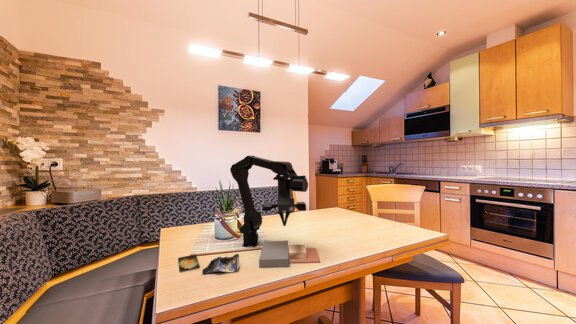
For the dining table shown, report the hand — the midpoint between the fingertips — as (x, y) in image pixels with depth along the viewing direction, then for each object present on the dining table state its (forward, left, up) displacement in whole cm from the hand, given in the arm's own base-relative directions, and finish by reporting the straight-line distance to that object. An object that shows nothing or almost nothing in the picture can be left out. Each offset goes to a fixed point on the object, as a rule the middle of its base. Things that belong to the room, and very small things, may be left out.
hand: (284, 225), depth 104 cm
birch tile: (+5, -6, -11) cm, 13 cm away
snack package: (-24, -16, -12) cm, 31 cm away
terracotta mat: (+8, -6, -11) cm, 15 cm away
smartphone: (-38, -10, -12) cm, 41 cm away
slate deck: (-4, -6, -11) cm, 13 cm away
